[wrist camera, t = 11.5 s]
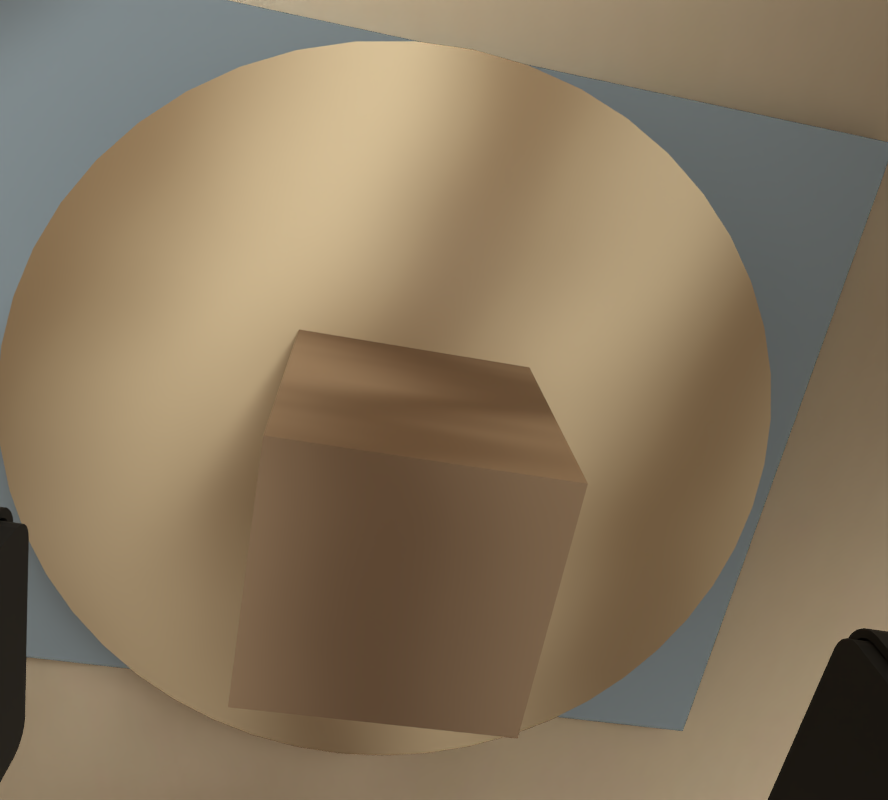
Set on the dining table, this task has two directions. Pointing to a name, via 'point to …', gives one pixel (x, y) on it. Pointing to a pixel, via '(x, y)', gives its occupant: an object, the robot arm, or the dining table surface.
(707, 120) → the mat
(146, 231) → the lid
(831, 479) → the dining table surface
